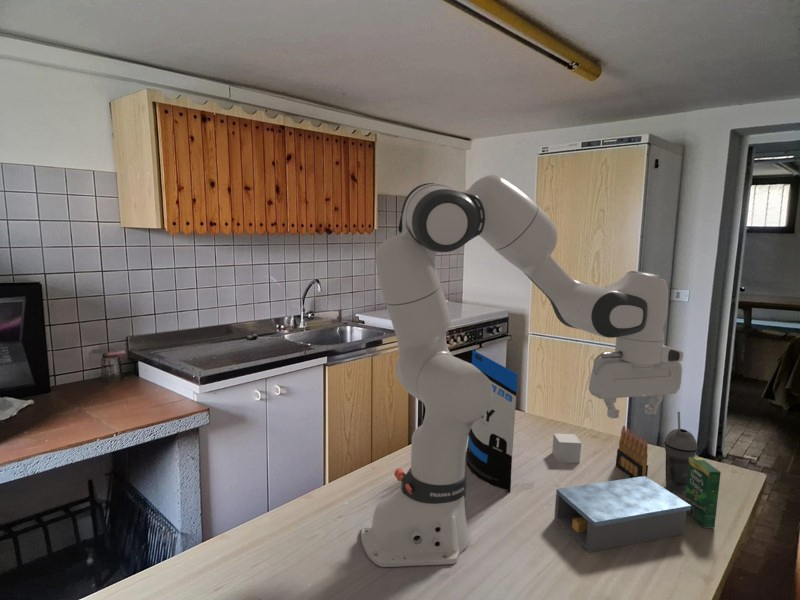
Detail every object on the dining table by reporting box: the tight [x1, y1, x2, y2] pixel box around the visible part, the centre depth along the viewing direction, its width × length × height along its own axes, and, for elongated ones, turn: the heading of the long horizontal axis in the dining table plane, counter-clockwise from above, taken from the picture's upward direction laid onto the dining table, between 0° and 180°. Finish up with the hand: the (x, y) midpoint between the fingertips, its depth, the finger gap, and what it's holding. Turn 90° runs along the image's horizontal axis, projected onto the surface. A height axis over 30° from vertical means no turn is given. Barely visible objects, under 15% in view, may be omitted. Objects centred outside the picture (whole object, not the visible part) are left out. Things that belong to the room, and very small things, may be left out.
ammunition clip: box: [615, 425, 649, 478], centre depth 134 cm, size 11×2×12 cm, turn 11°
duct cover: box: [555, 476, 691, 527], centre depth 110 cm, size 24×13×1 cm, turn 107°
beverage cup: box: [663, 411, 698, 494], centre depth 127 cm, size 7×7×20 cm
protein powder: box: [465, 349, 518, 493], centre depth 134 cm, size 10×24×30 cm, turn 18°
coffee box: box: [684, 456, 721, 529], centre depth 114 cm, size 8×3×13 cm, turn 179°
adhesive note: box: [551, 433, 582, 464], centre depth 144 cm, size 6×6×6 cm
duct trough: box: [553, 494, 687, 553], centre depth 111 cm, size 24×12×6 cm, turn 107°
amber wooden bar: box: [572, 517, 588, 532], centre depth 111 cm, size 22×2×2 cm, turn 107°
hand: (631, 415), depth 106 cm, fingers open, 8 cm apart
